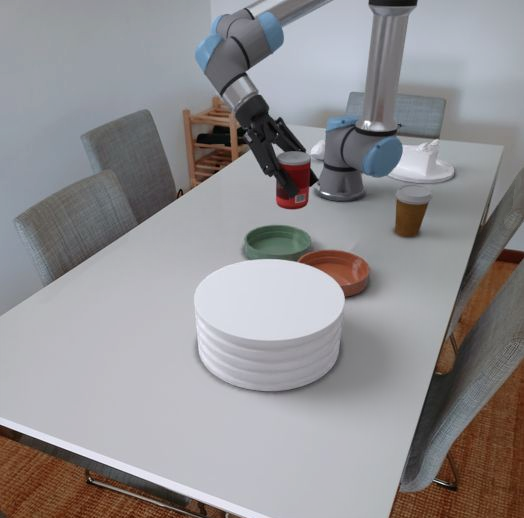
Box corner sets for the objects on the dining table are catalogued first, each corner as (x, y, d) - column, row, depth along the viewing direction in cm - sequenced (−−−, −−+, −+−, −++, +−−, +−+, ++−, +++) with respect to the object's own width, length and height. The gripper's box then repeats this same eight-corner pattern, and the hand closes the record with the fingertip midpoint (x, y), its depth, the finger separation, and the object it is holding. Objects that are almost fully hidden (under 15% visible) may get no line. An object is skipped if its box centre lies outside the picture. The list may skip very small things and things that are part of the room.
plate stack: (362, 374, 94) (371, 324, 87) (215, 404, 88) (211, 353, 81) (309, 297, 115) (312, 251, 108) (187, 316, 109) (182, 269, 102)
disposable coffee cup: (424, 241, 138) (434, 198, 130) (388, 238, 139) (396, 195, 132) (423, 226, 145) (432, 185, 137) (389, 223, 146) (396, 182, 139)
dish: (461, 167, 184) (469, 134, 177) (440, 188, 168) (448, 153, 161) (396, 155, 195) (402, 123, 188) (371, 174, 178) (375, 140, 171)
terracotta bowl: (324, 255, 131) (325, 243, 129) (381, 278, 122) (383, 265, 120) (280, 280, 121) (281, 267, 119) (339, 307, 112) (340, 294, 110)
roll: (307, 163, 187) (308, 147, 183) (316, 153, 195) (317, 138, 192) (322, 165, 185) (324, 149, 181) (331, 155, 194) (332, 140, 190)
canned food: (311, 199, 123) (315, 153, 116) (302, 212, 117) (305, 164, 110) (281, 195, 125) (283, 149, 118) (271, 207, 119) (272, 160, 112)
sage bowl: (274, 230, 142) (274, 219, 140) (323, 250, 133) (324, 238, 131) (230, 251, 133) (230, 239, 130) (280, 274, 123) (280, 261, 121)
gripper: (262, 106, 124) (316, 184, 127) (209, 125, 110) (271, 213, 113) (281, 84, 118) (337, 167, 121) (228, 102, 104) (292, 195, 107)
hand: (305, 189), depth 117 cm, fingers closed on canned food, 8 cm apart
